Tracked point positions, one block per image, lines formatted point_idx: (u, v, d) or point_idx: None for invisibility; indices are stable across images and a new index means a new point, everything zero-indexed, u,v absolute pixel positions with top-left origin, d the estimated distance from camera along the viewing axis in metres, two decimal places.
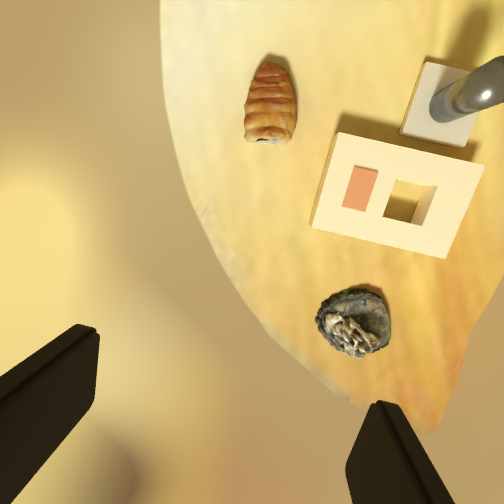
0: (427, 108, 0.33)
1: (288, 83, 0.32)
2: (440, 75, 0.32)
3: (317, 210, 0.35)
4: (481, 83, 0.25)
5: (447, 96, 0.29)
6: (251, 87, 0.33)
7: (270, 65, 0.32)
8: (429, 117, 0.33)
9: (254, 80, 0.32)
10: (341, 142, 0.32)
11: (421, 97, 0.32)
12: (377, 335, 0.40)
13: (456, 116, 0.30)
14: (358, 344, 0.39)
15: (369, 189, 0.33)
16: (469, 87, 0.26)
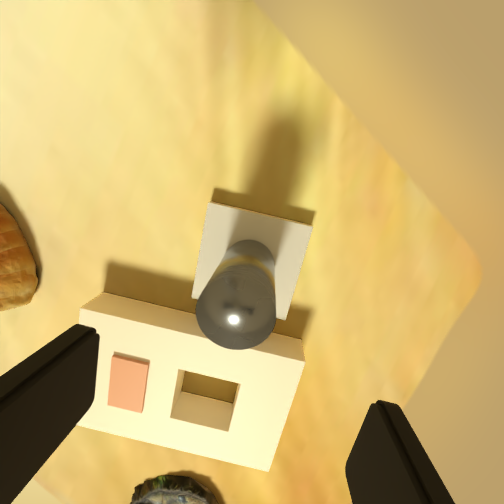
0: None
1: None
2: (232, 223, 0.20)
3: None
4: (203, 318, 0.13)
5: None
6: None
7: None
8: None
9: None
10: (87, 322, 0.21)
11: (210, 251, 0.21)
12: None
13: None
14: None
15: (139, 385, 0.22)
16: None
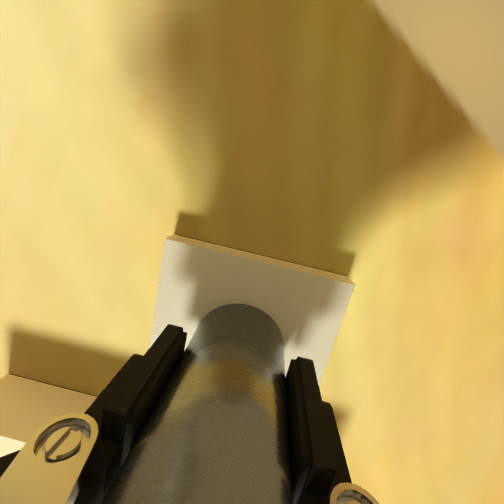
0: None
1: None
2: (209, 275, 0.11)
3: None
4: None
5: None
6: None
7: None
8: None
9: None
10: None
11: (172, 322, 0.12)
12: None
13: None
14: None
15: None
16: None
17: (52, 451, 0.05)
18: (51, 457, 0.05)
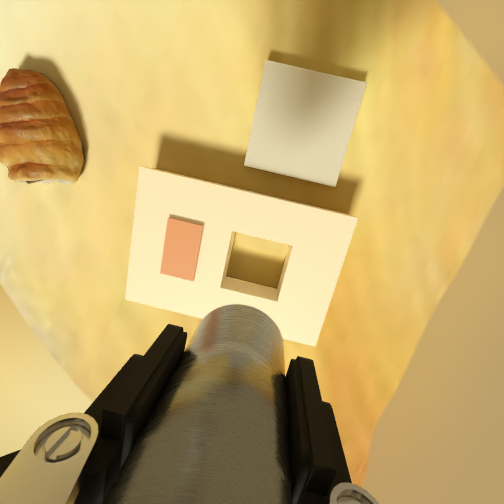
0: (275, 130, 0.22)
1: (45, 97, 0.22)
2: (288, 81, 0.21)
3: (129, 276, 0.24)
4: None
5: None
6: None
7: (15, 73, 0.22)
8: (280, 143, 0.22)
9: None
10: (145, 182, 0.22)
11: (265, 113, 0.21)
12: None
13: None
14: None
15: (193, 249, 0.22)
16: None
17: (51, 451, 0.05)
18: (51, 457, 0.05)
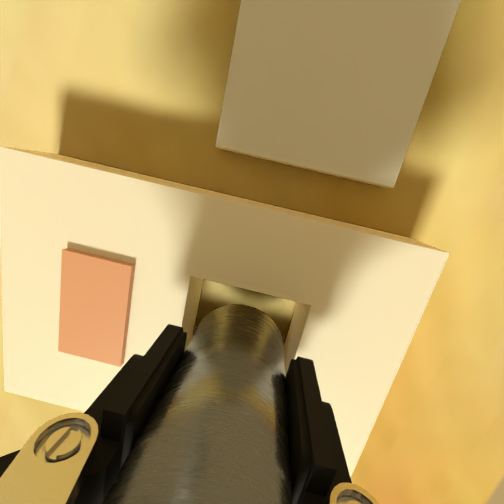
0: (277, 74, 0.11)
1: None
2: None
3: (6, 353, 0.13)
4: None
5: None
6: None
7: None
8: (286, 101, 0.11)
9: None
10: (14, 178, 0.11)
11: (256, 38, 0.11)
12: None
13: None
14: None
15: (116, 310, 0.11)
16: None
17: (52, 451, 0.05)
18: (51, 457, 0.05)
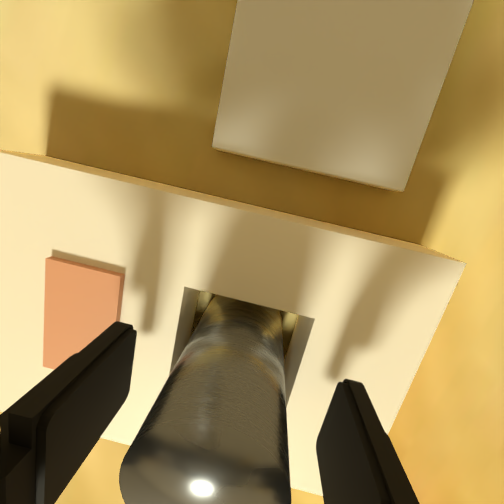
0: (278, 69, 0.10)
1: None
2: None
3: None
4: (137, 495, 0.06)
5: None
6: None
7: None
8: (287, 98, 0.10)
9: None
10: None
11: (255, 30, 0.10)
12: None
13: None
14: None
15: (104, 323, 0.11)
16: None
17: None
18: None
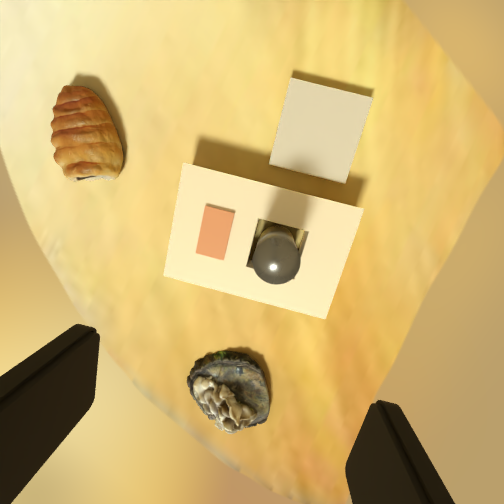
0: (296, 135, 0.26)
1: (94, 107, 0.26)
2: (308, 95, 0.25)
3: (168, 256, 0.28)
4: (257, 263, 0.22)
5: None
6: None
7: (69, 89, 0.26)
8: (300, 146, 0.26)
9: (53, 109, 0.26)
10: (187, 175, 0.26)
11: (288, 121, 0.26)
12: (253, 409, 0.34)
13: None
14: (224, 420, 0.32)
15: (224, 233, 0.27)
16: None
17: None
18: None
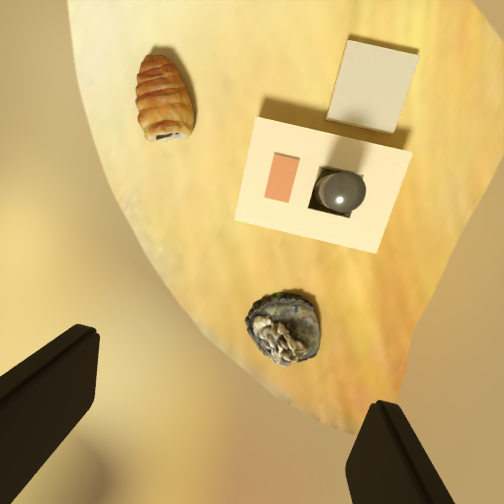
0: (352, 91, 0.30)
1: (173, 72, 0.30)
2: (363, 55, 0.29)
3: (239, 201, 0.32)
4: (328, 194, 0.26)
5: (318, 191, 0.31)
6: None
7: (151, 58, 0.30)
8: (354, 100, 0.30)
9: (138, 76, 0.31)
10: (259, 128, 0.30)
11: (345, 78, 0.30)
12: (305, 344, 0.38)
13: None
14: (282, 351, 0.37)
15: (290, 178, 0.31)
16: (323, 194, 0.28)
17: None
18: None
